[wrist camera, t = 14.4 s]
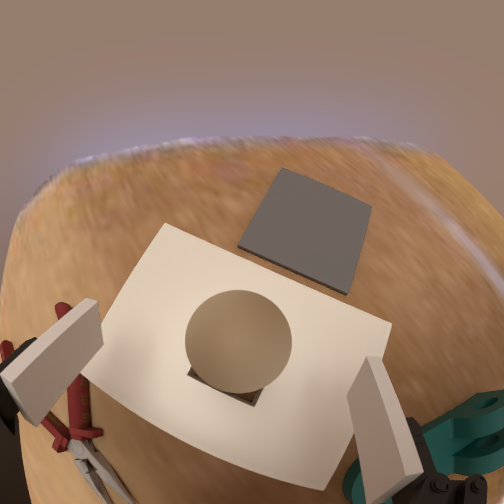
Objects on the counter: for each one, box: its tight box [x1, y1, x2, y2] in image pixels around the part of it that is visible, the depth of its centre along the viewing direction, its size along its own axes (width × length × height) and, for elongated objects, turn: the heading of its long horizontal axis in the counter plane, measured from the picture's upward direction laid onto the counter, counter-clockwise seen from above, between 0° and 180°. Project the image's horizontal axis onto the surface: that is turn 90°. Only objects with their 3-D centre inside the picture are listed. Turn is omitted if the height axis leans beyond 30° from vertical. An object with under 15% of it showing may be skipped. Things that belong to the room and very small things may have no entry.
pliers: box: [0, 302, 135, 504], centre depth 17 cm, size 11×20×3 cm, turn 34°
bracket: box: [343, 389, 504, 504], centre depth 14 cm, size 18×7×8 cm, turn 98°
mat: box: [238, 167, 372, 295], centre depth 27 cm, size 11×11×1 cm
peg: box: [185, 290, 292, 393], centre depth 15 cm, size 4×4×14 cm
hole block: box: [80, 223, 392, 491], centre depth 19 cm, size 20×14×4 cm
